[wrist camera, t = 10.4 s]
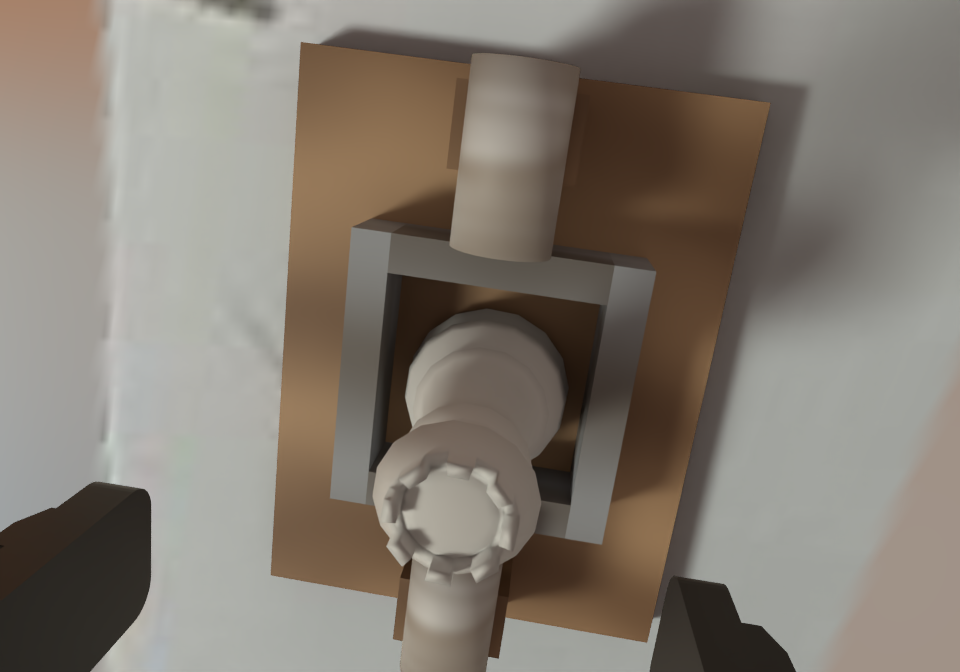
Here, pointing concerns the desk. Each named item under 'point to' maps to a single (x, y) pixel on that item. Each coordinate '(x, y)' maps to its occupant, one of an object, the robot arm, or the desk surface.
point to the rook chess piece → (471, 445)
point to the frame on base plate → (508, 288)
